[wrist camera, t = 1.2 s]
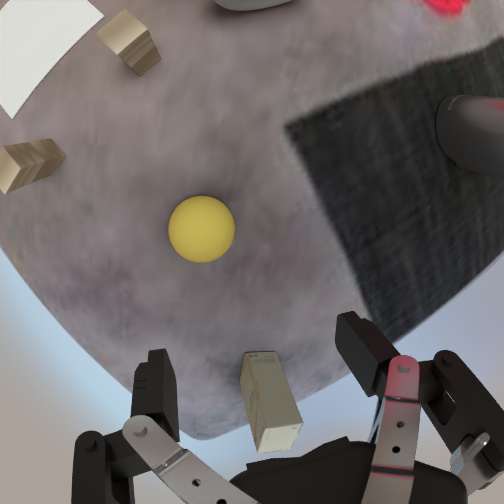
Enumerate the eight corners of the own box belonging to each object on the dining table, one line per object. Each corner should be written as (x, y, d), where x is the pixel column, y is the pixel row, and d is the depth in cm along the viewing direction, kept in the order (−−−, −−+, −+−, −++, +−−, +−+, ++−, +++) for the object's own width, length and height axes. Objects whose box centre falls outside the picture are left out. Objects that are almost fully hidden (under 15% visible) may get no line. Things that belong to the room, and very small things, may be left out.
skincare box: (244, 351, 37) (264, 427, 26) (277, 350, 38) (305, 422, 27) (239, 383, 40) (255, 455, 29) (269, 382, 41) (292, 450, 30)
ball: (242, 220, 30) (254, 241, 25) (199, 258, 31) (201, 287, 26) (202, 177, 28) (204, 188, 23) (158, 218, 29) (150, 240, 23)
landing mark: (104, 16, 19) (104, 16, 19) (13, 118, 21) (12, 119, 21) (45, -35, 14) (45, -35, 13) (-34, 56, 15) (-35, 56, 15)
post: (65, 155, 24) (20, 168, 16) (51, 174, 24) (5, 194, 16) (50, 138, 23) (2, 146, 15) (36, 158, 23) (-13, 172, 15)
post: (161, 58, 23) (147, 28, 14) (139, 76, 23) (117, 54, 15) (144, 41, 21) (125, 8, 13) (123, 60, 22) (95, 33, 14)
